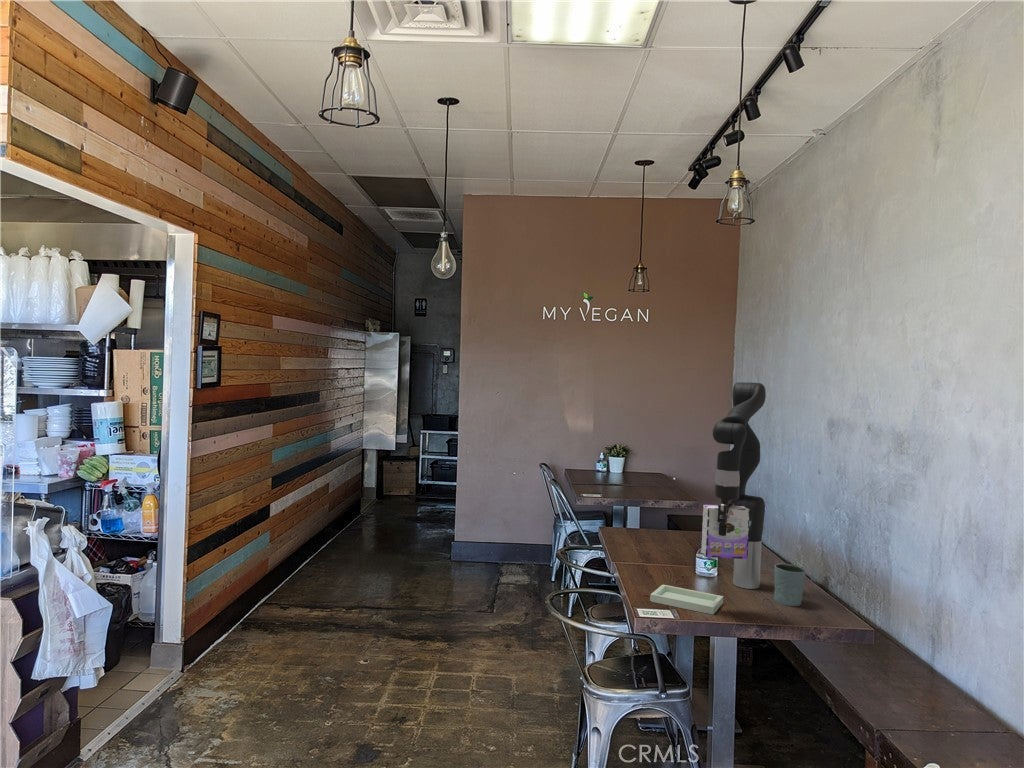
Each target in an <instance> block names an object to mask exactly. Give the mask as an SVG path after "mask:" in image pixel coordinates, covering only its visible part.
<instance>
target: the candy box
mask: <svg viewBox="0 0 1024 768" xmlns="http://www.w3.org/2000/svg"><path fill="white" fill-rule="evenodd" d="M718 505H719V504H703V506H702V507H703V508H702V526H701V527H702V529H701V530H702V531H701V545H700V546H701V547H700V553H701V554H702V555H703V557H705V558H709V559H711V558H712V559H713V558H715V559H733V560H734V559H748V536H749V526H750V521H749V512H750V509H748V508H746V507H744V506H733V507H732V508H731V510H730V517H729V518H728V519H727V527H726V535H725V536H721V535H719V524H720V523H718V521H717V520H718ZM728 509H729V508H728ZM722 512H723V511H722ZM726 514H728V512H726ZM721 519H724V517H721Z"/></svg>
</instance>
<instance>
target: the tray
mask: <svg viewBox="0 0 1024 768" xmlns="http://www.w3.org/2000/svg"><path fill="white" fill-rule="evenodd" d="M650 601H651V602H650ZM649 602H650V603H656V604H660V605H665V606H669V607H675V608H679V609H684V610H689V611H694V612H699V613H705V614H708V615H715V613H717V611H718V609H720V608H721V606H722V605H723V604H724V596H723V595H718V594H714V593H708V592H703V591H699V590H695V589H694V590H692V589H689V588H688V589H687V588H683V587H677V586H672V585H667V584H661V585H660V586H659V587H658V588H657V589H655V590H654V591H652V593H650V597H649Z"/></svg>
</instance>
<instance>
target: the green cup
mask: <svg viewBox="0 0 1024 768" xmlns="http://www.w3.org/2000/svg"><path fill="white" fill-rule="evenodd" d="M806 573H807V570H806V569H805V568H804V567H802V566H799V565H796V564H790V563H776V564H774V573H773V574H774V577H773V578H774V592H773V594H774V595H773V599H774V602H776V603H778V604H779V605H783V606H787V605H788V607H798V606H801V605H802V600H803V599H802V598H803V590H804V585H805V579H806Z"/></svg>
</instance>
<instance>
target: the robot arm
mask: <svg viewBox="0 0 1024 768" xmlns="http://www.w3.org/2000/svg"><path fill="white" fill-rule="evenodd" d="M766 393H767V392H766V387H765V385H764V384H763V383H762V382H761V383H760V382H745V381H744V382H743V381H742V382H735V383H734V385H733V387H732V396H731V397H732V408H731V409H730V411H728V413H727V415H726V416H725V417H723V418H721V419H720V420H718V421H717V422H716V423H715V424H714V426H713V429H712V438H713V440H714V441H715V442H716V443H718V444H723V445H733V447H732V448H731V449H730V450H724V451H719V452H718V453H717V459H716V460H717V461H716V472H715V480H714V481H715V484H714V497H715V498H717V499H721V500H720V503H718V504H717V505H718V520H717V521H718V523H720V524H719V535H721V536H725V535H726V527H727V519H728V518H729V517H730V510H731V508H732V507H733V506H744V507H746V508H748V509H750V512H749V522H750V524H749V536H748V559H734V558H733V573H732V574H733V578H732V579H733V580H732V584H733V585H734V586H736V587H738V588H741V589H747V590H748V589H749V590H750V589H751V590H755V589H757V590H758V589H759V588H760V582H761V581H760V580H761V563H762V562H761V560H762V541H763V540H762V539H763V538H762V537H763V533H764V523H765V522H764V521H765V514H766V503H765V500H764V498H763V497H760V496H755V495H751V494H750V495H749V494H748V495H747V494H746V489H747V484H748V481H749V479H750V478H751V476H752V475H753V473H754V472H755V470H756V469H757V468H758V466H759V465H760V461H761V442H760V440H759V438H758V437H757V434H756V433H755V432H754V431H753V429H752V428H751V426H750V424H749V421H750V419H751V418H752V417H753V416H755V414H756V413H758V411H760V410H761V409H762V408H763V406H764V405H765V402H766V396H767V395H766ZM728 508H729V509H728ZM722 511H723V512H722ZM726 512H728V514H726ZM721 517H724V519H721Z"/></svg>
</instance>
